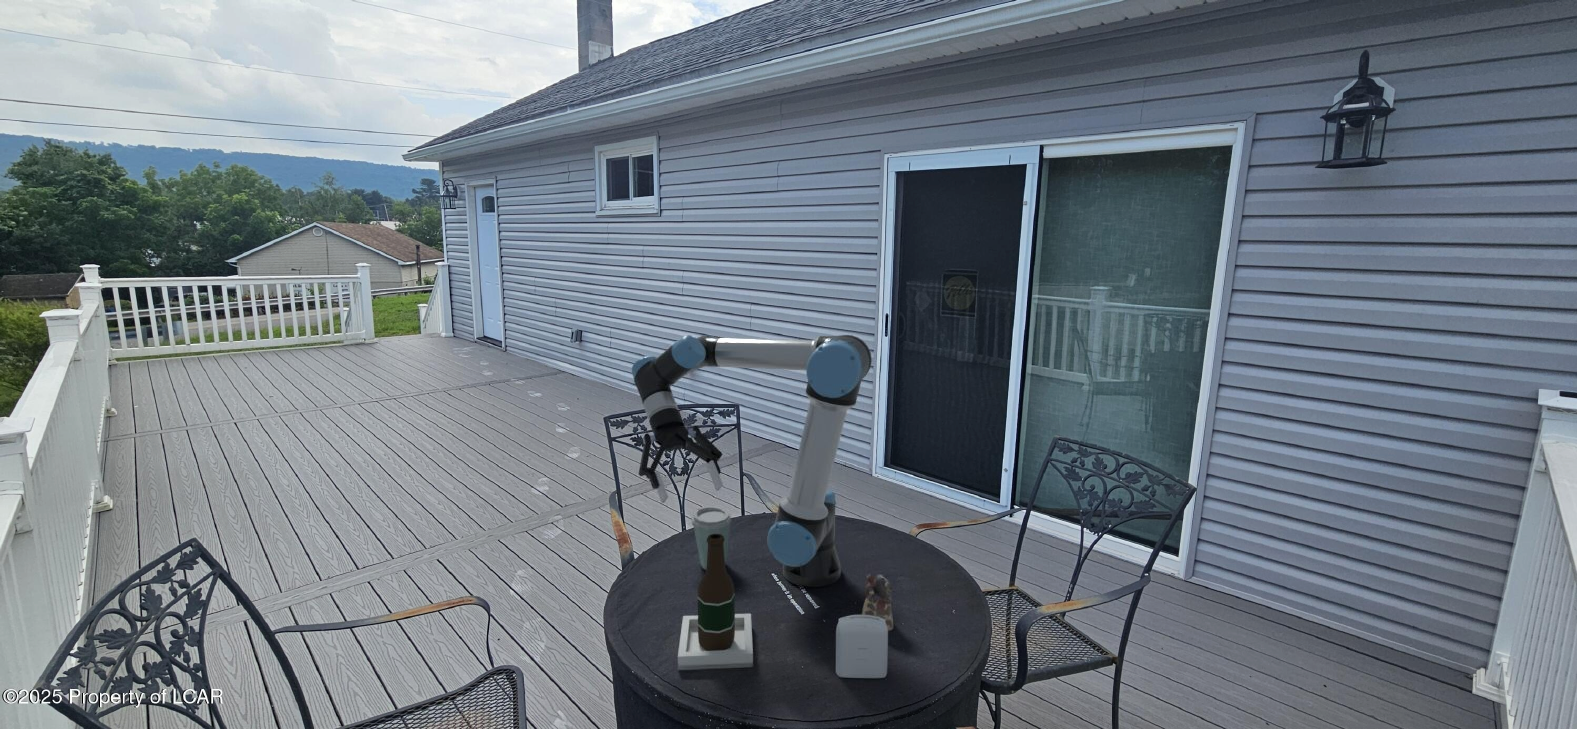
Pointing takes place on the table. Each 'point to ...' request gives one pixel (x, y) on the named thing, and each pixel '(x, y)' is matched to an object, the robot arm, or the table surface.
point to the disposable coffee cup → (710, 529)
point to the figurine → (879, 599)
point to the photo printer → (861, 647)
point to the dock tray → (699, 658)
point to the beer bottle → (716, 600)
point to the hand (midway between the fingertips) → (693, 494)
